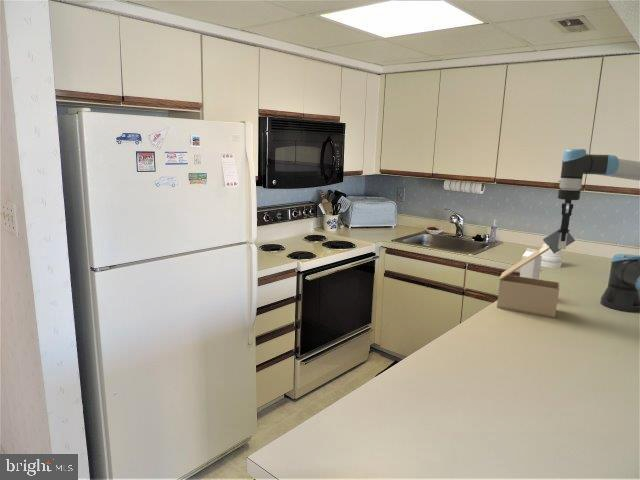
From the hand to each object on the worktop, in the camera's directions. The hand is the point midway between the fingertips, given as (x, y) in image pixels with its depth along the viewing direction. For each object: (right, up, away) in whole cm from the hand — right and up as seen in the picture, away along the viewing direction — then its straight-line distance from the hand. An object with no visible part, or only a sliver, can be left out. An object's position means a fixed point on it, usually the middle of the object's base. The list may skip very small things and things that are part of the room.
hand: (561, 248), depth 180 cm
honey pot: (+38, -12, +85) cm, 93 cm away
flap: (-7, -6, +5) cm, 10 cm away
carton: (-10, -26, +10) cm, 29 cm away
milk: (-1, -23, +27) cm, 35 cm away
